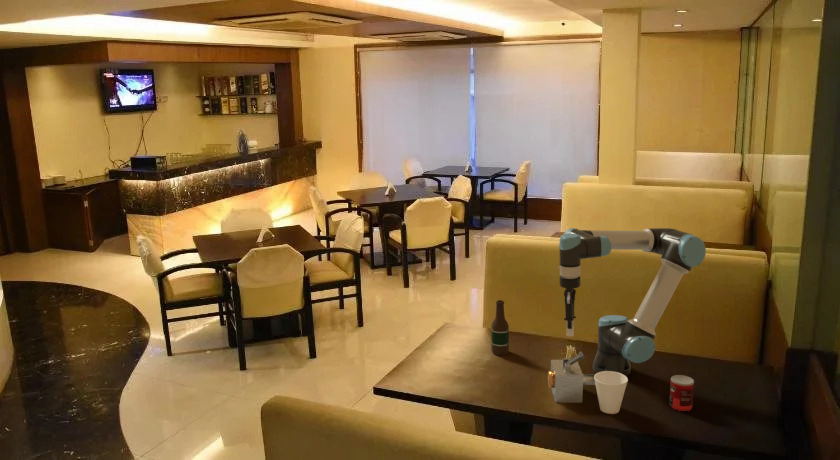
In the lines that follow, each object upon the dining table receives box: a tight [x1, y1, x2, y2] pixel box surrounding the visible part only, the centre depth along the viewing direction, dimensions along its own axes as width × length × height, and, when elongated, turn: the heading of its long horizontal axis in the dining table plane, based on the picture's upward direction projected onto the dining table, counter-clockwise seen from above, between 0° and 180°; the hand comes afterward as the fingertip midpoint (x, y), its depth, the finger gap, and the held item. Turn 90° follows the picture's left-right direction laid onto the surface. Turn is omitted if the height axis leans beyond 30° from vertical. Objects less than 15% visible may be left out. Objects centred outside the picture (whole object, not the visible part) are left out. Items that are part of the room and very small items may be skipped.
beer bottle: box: [490, 299, 510, 356], centre depth 293 cm, size 8×8×24 cm
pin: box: [547, 370, 596, 389], centre depth 254 cm, size 18×6×6 cm, turn 86°
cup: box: [594, 371, 629, 415], centre depth 241 cm, size 12×12×12 cm
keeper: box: [564, 351, 586, 365], centre depth 252 cm, size 8×4×1 cm
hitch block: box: [550, 357, 584, 404], centre depth 254 cm, size 10×14×13 cm
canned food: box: [668, 374, 695, 413], centre depth 242 cm, size 8×8×11 cm
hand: (570, 335), depth 250 cm, fingers closed
